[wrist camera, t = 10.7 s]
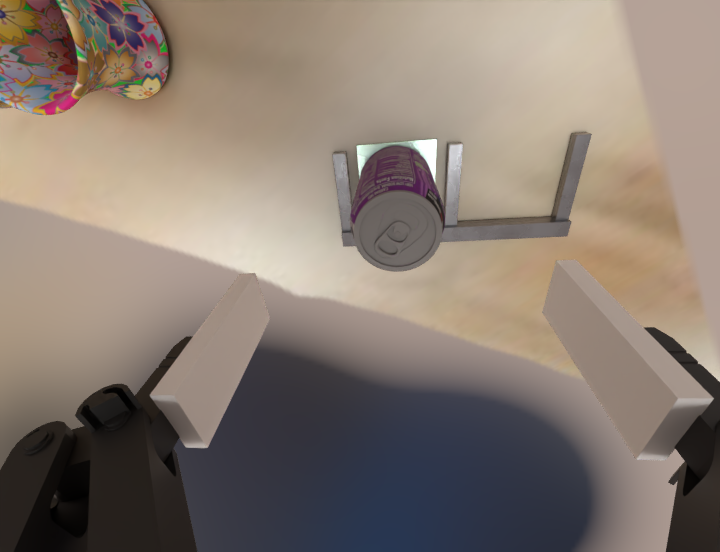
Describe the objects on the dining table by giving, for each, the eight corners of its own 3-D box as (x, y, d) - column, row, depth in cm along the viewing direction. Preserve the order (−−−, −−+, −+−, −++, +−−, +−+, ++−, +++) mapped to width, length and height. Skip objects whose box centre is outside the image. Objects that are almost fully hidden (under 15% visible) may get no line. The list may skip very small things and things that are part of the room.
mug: (106, -61, 24) (-58, -140, 15) (200, 58, 28) (111, 50, 19) (37, 50, 29) (-123, 39, 20) (126, 141, 32) (25, 166, 23)
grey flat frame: (333, 147, 31) (330, 150, 30) (587, 126, 28) (597, 128, 27) (345, 240, 36) (343, 246, 35) (560, 229, 34) (567, 236, 32)
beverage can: (404, 225, 35) (410, 291, 25) (347, 193, 33) (329, 249, 23) (445, 168, 31) (471, 219, 21) (383, 129, 29) (380, 163, 19)
